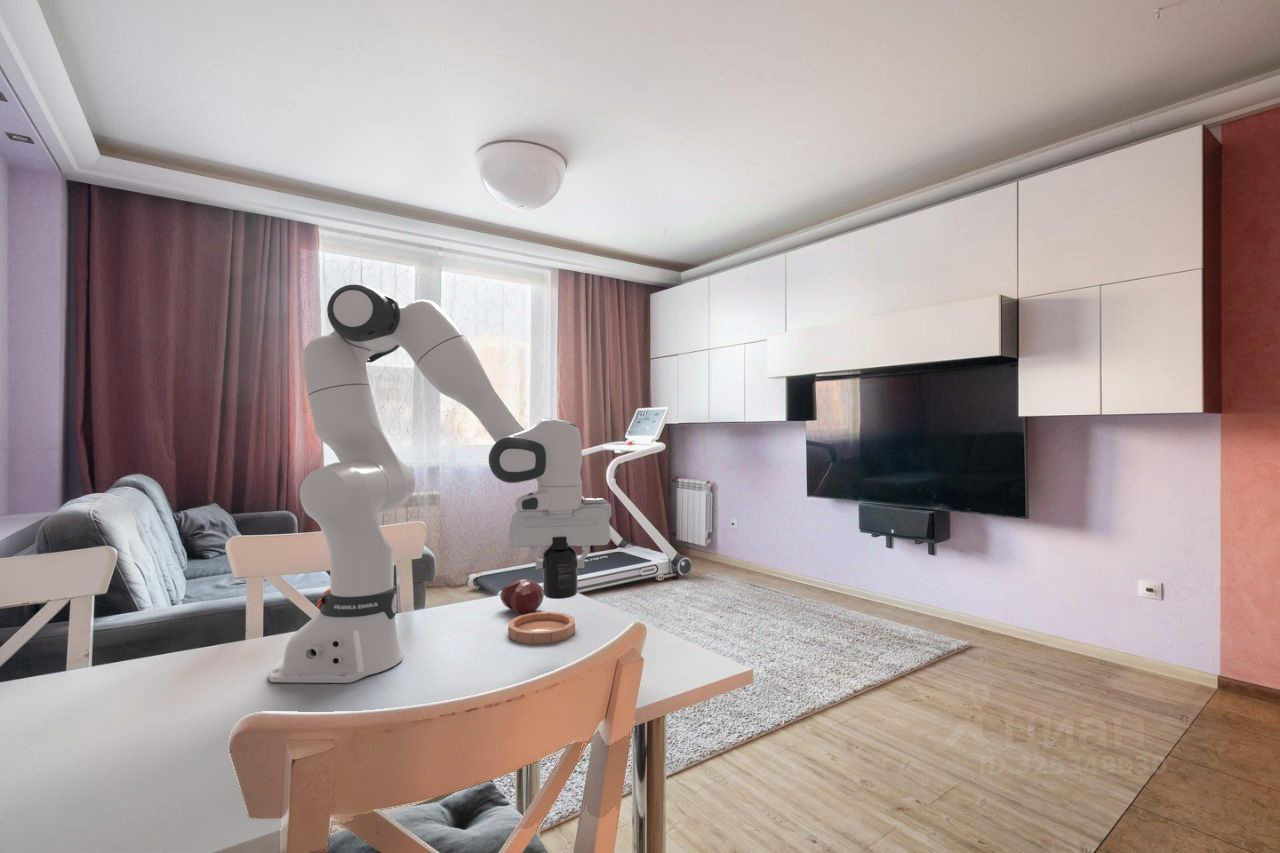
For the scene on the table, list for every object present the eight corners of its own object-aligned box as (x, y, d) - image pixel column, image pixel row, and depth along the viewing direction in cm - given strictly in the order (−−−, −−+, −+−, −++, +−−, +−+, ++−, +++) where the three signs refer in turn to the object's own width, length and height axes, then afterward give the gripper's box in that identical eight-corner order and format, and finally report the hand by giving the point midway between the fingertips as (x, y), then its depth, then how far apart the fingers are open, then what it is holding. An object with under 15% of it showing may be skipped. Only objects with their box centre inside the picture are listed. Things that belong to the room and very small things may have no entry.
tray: (506, 645, 125) (506, 635, 125) (510, 623, 139) (510, 613, 139) (576, 641, 127) (576, 630, 127) (572, 619, 142) (572, 610, 142)
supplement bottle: (580, 590, 124) (579, 532, 124) (573, 600, 117) (572, 538, 117) (548, 590, 125) (547, 532, 125) (539, 599, 118) (538, 538, 118)
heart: (534, 598, 157) (498, 610, 151) (530, 570, 156) (494, 581, 150) (556, 611, 147) (519, 624, 141) (552, 580, 146) (515, 592, 140)
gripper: (609, 496, 126) (609, 562, 126) (509, 498, 123) (509, 566, 123) (613, 500, 120) (613, 569, 120) (507, 502, 116) (507, 573, 116)
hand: (559, 568), depth 121 cm, fingers closed on supplement bottle, 7 cm apart
